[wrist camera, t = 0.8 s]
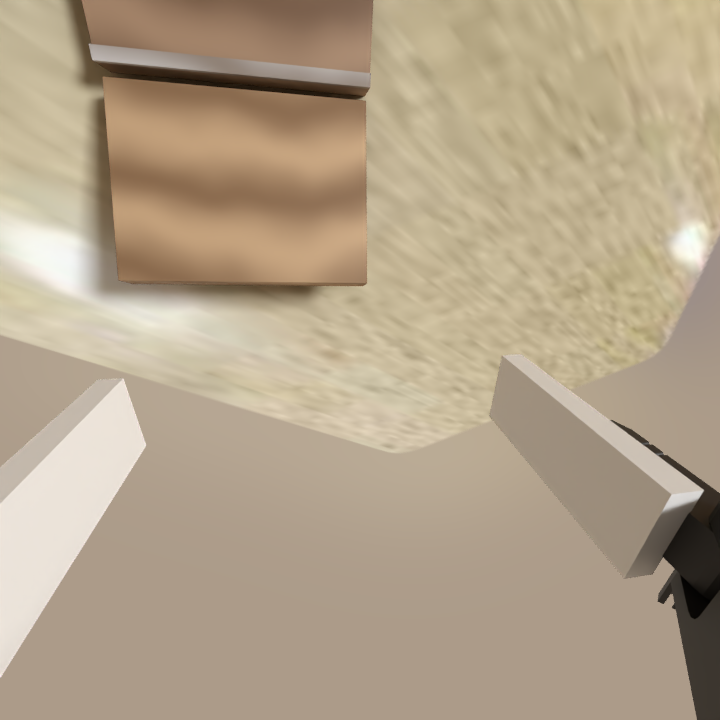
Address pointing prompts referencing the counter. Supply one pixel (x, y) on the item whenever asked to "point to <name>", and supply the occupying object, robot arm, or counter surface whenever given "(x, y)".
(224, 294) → the counter surface
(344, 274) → the oak plank
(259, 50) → the walnut board
